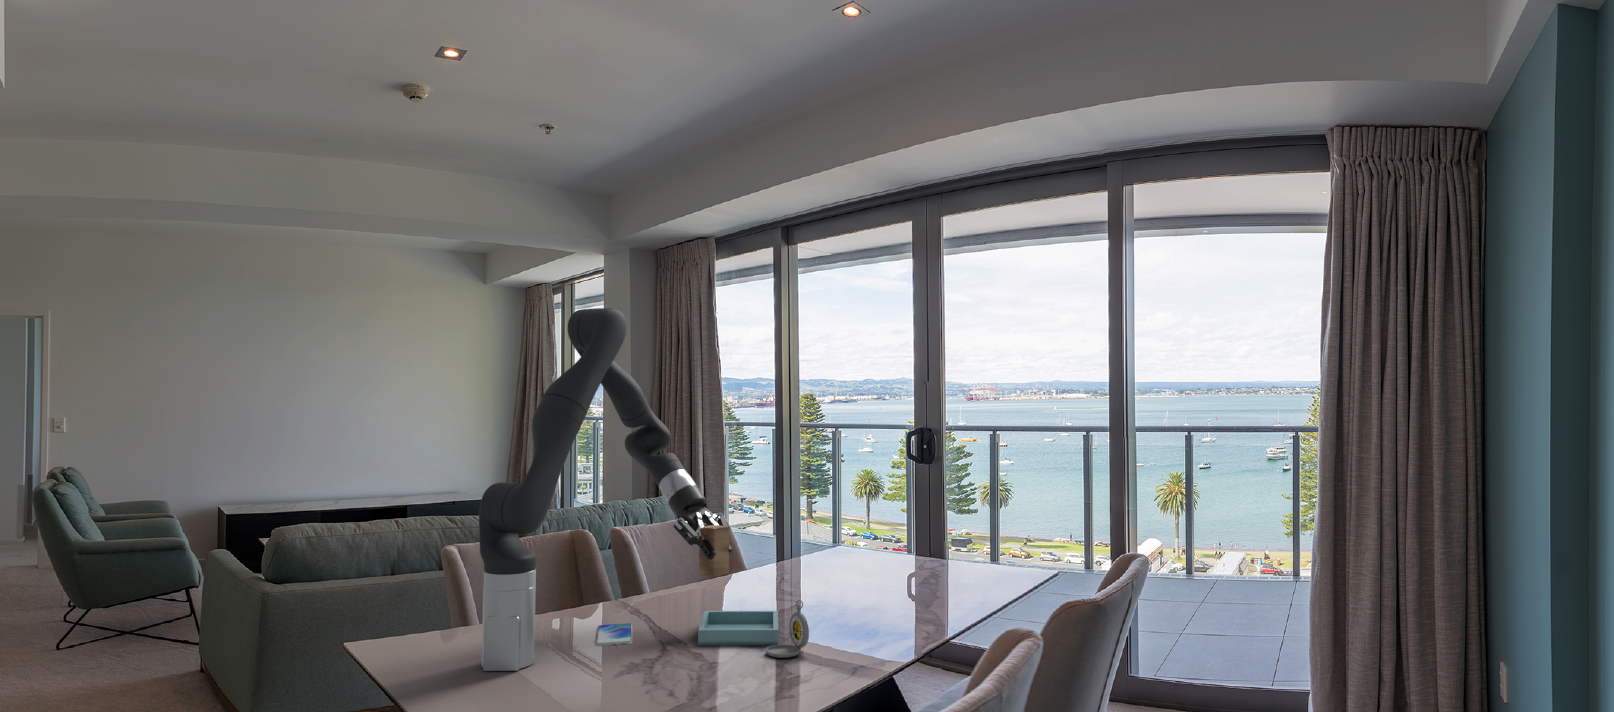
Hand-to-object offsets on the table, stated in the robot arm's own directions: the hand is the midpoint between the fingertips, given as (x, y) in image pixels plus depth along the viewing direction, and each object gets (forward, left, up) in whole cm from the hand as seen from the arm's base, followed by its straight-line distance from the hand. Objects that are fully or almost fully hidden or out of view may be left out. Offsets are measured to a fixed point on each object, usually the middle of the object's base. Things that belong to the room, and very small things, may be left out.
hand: (720, 555), depth 188 cm
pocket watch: (-17, -14, -16) cm, 28 cm away
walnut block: (+1, +2, -4) cm, 5 cm away
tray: (-3, -4, -16) cm, 17 cm away
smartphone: (-3, +22, -16) cm, 27 cm away
